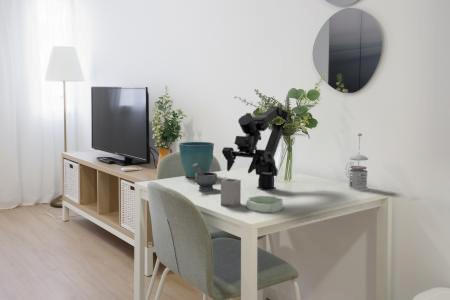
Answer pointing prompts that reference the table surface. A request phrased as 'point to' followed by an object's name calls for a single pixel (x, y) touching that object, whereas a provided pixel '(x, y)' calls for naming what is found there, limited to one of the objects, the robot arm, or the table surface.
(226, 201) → the tumbler
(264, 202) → the dish
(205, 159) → the flower pot
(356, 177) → the french press
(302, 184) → the table surface
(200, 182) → the mortar and pestle
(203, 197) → the table surface
